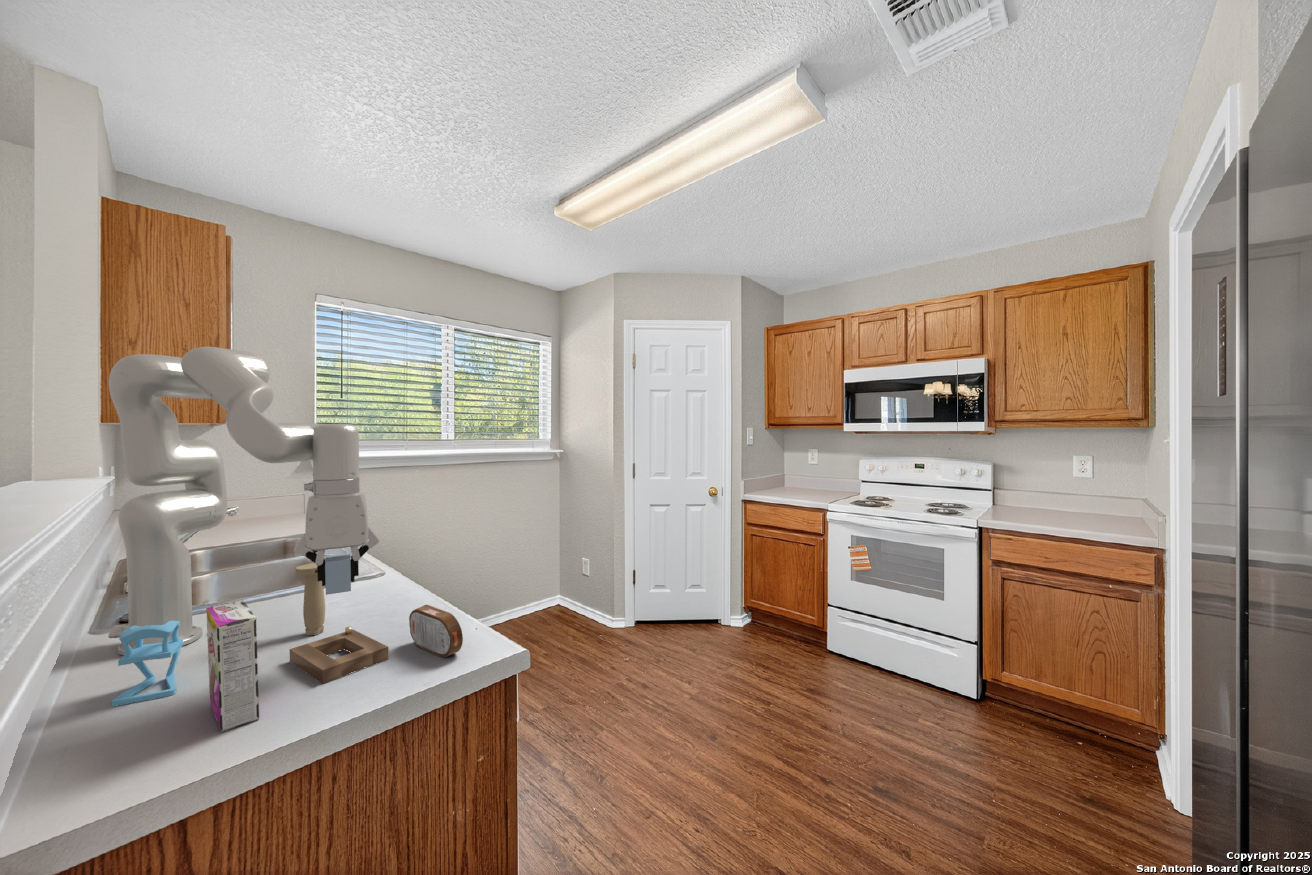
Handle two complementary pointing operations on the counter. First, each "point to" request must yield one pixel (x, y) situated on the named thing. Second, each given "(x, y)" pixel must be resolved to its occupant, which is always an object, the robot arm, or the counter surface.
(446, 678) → the counter surface
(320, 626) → the handle
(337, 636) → the socket block
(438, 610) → the tin
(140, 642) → the chair
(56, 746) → the counter surface
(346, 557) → the blue peg
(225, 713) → the candy bar box
